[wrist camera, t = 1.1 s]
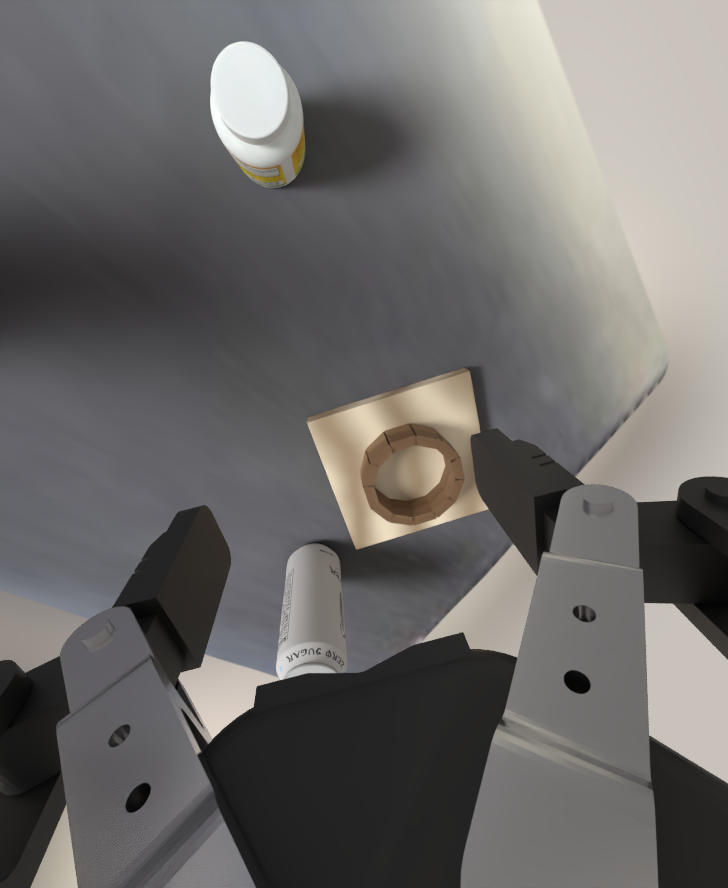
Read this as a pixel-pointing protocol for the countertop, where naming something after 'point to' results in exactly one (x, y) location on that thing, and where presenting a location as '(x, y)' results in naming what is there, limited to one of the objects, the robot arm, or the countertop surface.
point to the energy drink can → (312, 615)
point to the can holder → (402, 457)
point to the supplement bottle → (258, 114)
